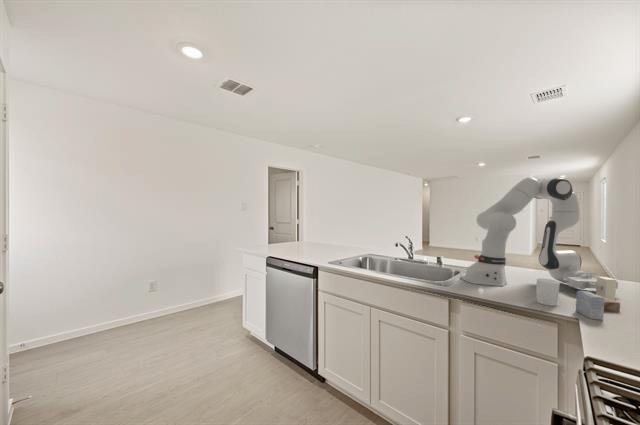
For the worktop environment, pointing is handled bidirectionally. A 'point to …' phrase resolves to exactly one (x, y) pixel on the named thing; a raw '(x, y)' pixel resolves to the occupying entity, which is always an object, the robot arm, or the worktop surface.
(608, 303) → the walnut block
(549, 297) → the white cup
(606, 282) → the cream pillar
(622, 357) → the worktop surface
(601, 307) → the medicine box
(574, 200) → the robot arm
